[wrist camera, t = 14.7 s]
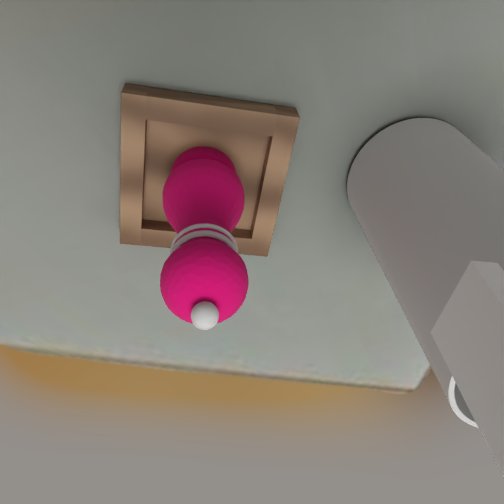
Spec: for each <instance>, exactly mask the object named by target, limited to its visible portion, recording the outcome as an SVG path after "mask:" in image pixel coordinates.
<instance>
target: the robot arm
mask: <svg viewBox="0 0 504 504" xmlns="http://www.w3.org/2000/svg"><path fill="white" fill-rule="evenodd" d="M430 333H431V335H432V337H433V339H434V341H435V342H436V344H437V346H438V348H439V350H440V352H441V354H442V356H443V358H444V360H445V362H446V364H447V366H448V368H449V370H450V372H451V374H452V376H453V378H454V380H455V382H456V384H457V386H458V388H459V390H460V392H461V394H462V396H463V398H464V400H465V402H466V404H467V406H468V408H469V410H470V412H471V414H472V416H473V418H474V420H475V422H476V424H477V426H478V428H479V430H480V432H481V434H482V436H483V438H484V440H485V442H486V444H487V446H488V448H489V450H490V452H491V454H492V455H493V458H494V460H495V462H496V463H497V465H498V467H499V469H500V471H501V473H502V475H503V477H504V271H503V269H502V268H501V267H500V266H499V264H498V263H493V262H482V261H471V262H470V264H469V265H468V267H467V269H466V271H465V272H464V274H463V276H462V278H461V279H460V281H459V283H458V285H457V286H456V288H455V290H454V292H453V294H452V295H451V297H450V299H449V301H448V302H447V304H446V306H445V308H444V309H443V311H442V313H441V315H440V316H439V318H438V320H437V322H436V323H435V325H434V327H433V329H432V331H431V332H430Z"/></svg>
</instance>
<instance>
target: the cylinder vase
mask: <svg viewBox="0 0 504 504" xmlns="http://www.w3.org/2000/svg"><path fill="white" fill-rule="evenodd" d="M347 194H348V199H349V203H350V205H351V208H352V210H353V212H354V214H355V216H356V218H357V220H358V222H359V224H360V226H361V228H362V230H363V232H364V234H365V236H366V238H367V240H368V242H369V244H370V246H371V248H372V250H373V252H374V254H375V256H376V258H377V260H378V262H379V264H380V266H381V268H382V270H383V272H384V274H385V276H386V278H387V280H388V282H389V284H390V286H391V288H392V290H393V292H394V294H395V296H396V298H397V299H398V301H399V303H400V305H401V307H402V309H403V311H404V313H405V315H406V317H407V319H408V321H409V323H410V325H411V327H412V329H413V331H414V333H415V335H416V337H417V339H418V341H419V343H420V345H421V347H422V349H423V351H424V353H425V355H426V357H427V359H428V361H429V363H430V365H431V367H432V369H433V371H434V373H435V375H436V377H437V379H438V381H439V383H440V385H441V387H442V389H443V391H444V393H445V395H446V397H447V399H448V401H449V403H450V405H451V407H452V409H453V411H454V412H455V414H456V415H457V416H458V417H459V418H460V419H462V420H463V421H465V422H466V423H468V424H470V425H472V426H474V427H477V428H478V426H477V424H476V422H475V420H474V418H473V416H472V414H471V412H470V410H469V408H468V406H467V404H466V402H465V400H464V398H463V396H462V394H461V392H460V390H459V388H458V386H457V384H456V382H455V380H454V378H453V376H452V374H451V372H450V370H449V368H448V366H447V364H446V362H445V360H444V358H443V356H442V354H441V352H440V350H439V348H438V346H437V344H436V342H435V341H434V339H433V337H432V335H431V333H430V332H431V331H432V329H433V327H434V325H435V323H436V322H437V320H438V318H439V316H440V315H441V313H442V311H443V309H444V308H445V306H446V304H447V302H448V301H449V299H450V297H451V295H452V294H453V292H454V290H455V288H456V286H457V285H458V283H459V281H460V279H461V278H462V276H463V274H464V272H465V271H466V269H467V267H468V265H469V264H470V262H471V261H482V262H493V263H498V264H499V266H500V267H501V268H502V269H503V271H504V169H503V168H502V167H501V166H499V165H498V164H497V163H496V162H495V161H494V160H492V159H491V158H490V157H489V156H488V155H487V154H486V153H484V152H483V151H482V150H481V149H480V148H479V147H477V146H476V145H475V144H474V143H473V142H472V141H470V140H469V139H468V138H467V137H466V136H465V135H463V134H462V133H461V132H460V131H459V130H458V129H456V128H455V127H454V126H452V125H450V124H448V123H446V122H444V121H441V120H437V119H432V118H414V119H408V120H404V121H401V122H398V123H395V124H393V125H391V126H389V127H387V128H385V129H384V130H382V131H380V132H379V133H378V134H376V135H375V136H374V137H373V138H371V139H370V140H369V141H368V142H367V143H366V144H365V145H364V147H363V148H362V149H361V150H360V152H359V153H358V155H357V156H356V158H355V160H354V162H353V164H352V166H351V169H350V172H349V175H348V181H347Z"/></svg>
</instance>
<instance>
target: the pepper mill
mask: <svg viewBox="0 0 504 504" xmlns="http://www.w3.org/2000/svg"><path fill="white" fill-rule="evenodd" d="M162 194H163V208H164V212H165V215H166V217H167V220H168V222H169V224H170V225H171V226H172V228H173V229H174V230H175V231H176V233H177V235H176V236H175V238H174V239H173V241H172V244H171V248H170V256H169V257H168V259H167V260H166V261H165V263H164V266H163V269H162V272H161V279H160V288H161V293H162V296H163V299H164V301H165V303H166V305H167V307H168V308H169V309H170V310H171V311H172V312H173V313H174V314H175V315H176V316H178V317H179V318H180V319H182V320H184V321H186V322H189V323H193V324H194V325H195V326H196V327H197V328H199V329H201V330H207V329H211V328H212V327H214V326H215V325H216V323H219V322H222V321H224V320H226V319H227V318H229V317H231V316H232V315H233V314H234V313H235V312H236V311H237V310H238V309H239V308H240V307H241V305H242V303H243V302H244V300H245V297H246V294H247V290H248V274H247V269H246V266H245V264H244V262H243V260H242V258H241V257H240V256H239V255H238V247H237V243H236V241H235V239H234V237H233V236H232V235H231V231H232V230H233V229H234V228H235V227H236V225H237V224H238V222H239V220H240V218H241V216H242V213H243V210H244V204H245V195H244V188H243V185H242V183H241V181H240V179H239V177H238V176H237V174H236V170H235V167H234V164H233V162H232V161H231V159H230V158H229V157H228V156H227V155H226V154H225V153H223V152H222V151H220V150H218V149H215V148H212V147H207V146H199V147H194V148H191V149H188V150H186V151H185V152H183V153H182V154H180V155H179V156H178V157H177V159H176V160H175V161H174V163H173V165H172V168H171V174H170V175H169V176H168V178H167V180H166V182H165V185H164V187H163V193H162Z"/></svg>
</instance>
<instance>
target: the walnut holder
mask: <svg viewBox="0 0 504 504" xmlns="http://www.w3.org/2000/svg"><path fill="white" fill-rule="evenodd" d="M299 120H300V117H299V115H298V113H297V110H296V108H293V107H286V106H279V105H272V104H265V103H258V102H251V101H244V100H237V99H230V98H223V97H216V96H209V95H202V94H195V93H188V92H181V91H174V90H167V89H160V88H153V87H147V86H140V85H133V84H126V83H125V86H124V88H123V90H122V92H121V177H120V244H131V245H143V246H154V247H165V248H171V244H172V241H173V239H174V238H175V236H176V235H177V233H176V231H175V230H174V229H173V228H172V226H171V225H170V224H169V222H168V220H167V217H166V215H165V212H164V208H163V194H162V193H163V187H164V185H165V182H166V180H167V178H168V176H169V175H170V174H171V168H172V165H173V163H174V161H175V160H176V159H177V157H178V156H179V155H180V154H182V153H183V152H185V151H186V150H188V149H191V148H194V147H199V146H207V147H212V148H215V149H218V150H220V151H222V152H223V153H225V154H226V155H227V156H228V157H229V158H230V159H231V161H232V162H233V164H234V167H235V170H236V174H237V176H238V177H239V179H240V181H241V183H242V185H243V188H244V195H245V204H244V210H243V213H242V216H241V218H240V220H239V222H238V224H237V225H236V227H235V228H234V229H233V230H232V231H231V235H232V236H233V237H234V239H235V241H236V243H237V247H238V254H245V255H257V256H268V252H269V247H270V243H271V239H272V235H273V230H274V226H275V222H276V218H277V213H278V209H279V205H280V201H281V196H282V192H283V188H284V184H285V179H286V175H287V171H288V166H289V162H290V158H291V154H292V149H293V145H294V141H295V137H296V132H297V128H298V124H299Z"/></svg>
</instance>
